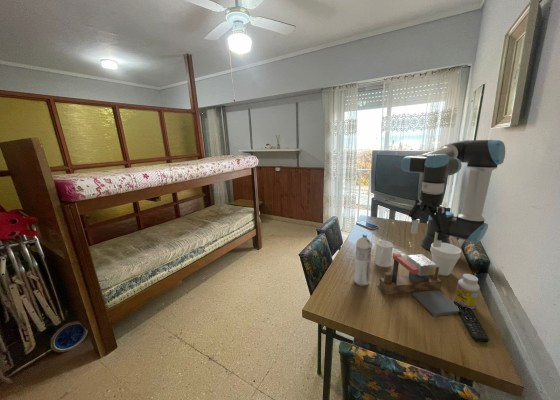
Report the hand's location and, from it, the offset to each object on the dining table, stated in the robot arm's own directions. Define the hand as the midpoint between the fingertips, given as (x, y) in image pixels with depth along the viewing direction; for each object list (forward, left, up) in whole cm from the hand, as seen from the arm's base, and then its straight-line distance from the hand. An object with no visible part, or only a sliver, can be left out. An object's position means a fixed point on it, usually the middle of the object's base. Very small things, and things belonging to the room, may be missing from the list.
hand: (424, 239), depth 96 cm
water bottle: (+24, -7, -24) cm, 35 cm away
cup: (-20, -9, -24) cm, 33 cm away
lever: (+12, +5, -8) cm, 15 cm away
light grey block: (0, 0, -15) cm, 15 cm away
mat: (0, +11, -24) cm, 26 cm away
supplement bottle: (-11, +13, -24) cm, 30 cm away
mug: (+6, -20, -24) cm, 32 cm away
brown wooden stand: (+4, 0, -24) cm, 24 cm away
